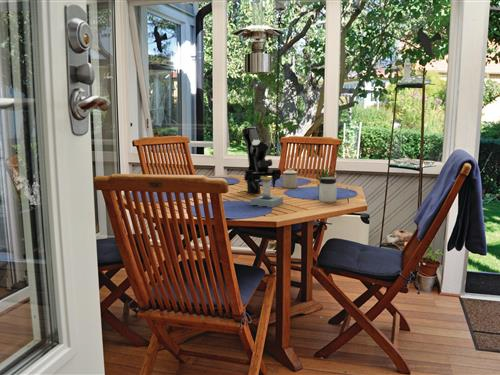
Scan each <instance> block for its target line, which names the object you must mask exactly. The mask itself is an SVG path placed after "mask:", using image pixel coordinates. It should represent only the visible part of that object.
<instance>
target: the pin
mask: <svg viewBox="0 0 500 375" xmlns="http://www.w3.org/2000/svg"><path fill="white" fill-rule="evenodd" d="M261 180H262V182H261V183H262V184H261V186H262V187H261V188H262V191H261V192H262V196H263V199H266V200H270V199H271V196H272V195H271V181H272V176H261Z"/></svg>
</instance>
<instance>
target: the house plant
mask: <svg viewBox="0 0 500 375" xmlns="http://www.w3.org/2000/svg"><path fill="white" fill-rule="evenodd" d="M333 170H334V168H333V169H331V170H330V166H329V167H327V169H326V170H325V168H324V166H322V169H319V168H318V170H317V169H315V170H314V172H316V173H317V175H318V176H314V178H315V179H316V182H320V178H321V177H333V176H338V173H334V171H333ZM337 171H338V170H336V172H337ZM332 173H333V174H332ZM316 186H317V190H318V194H319V183H317V185H316Z"/></svg>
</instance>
